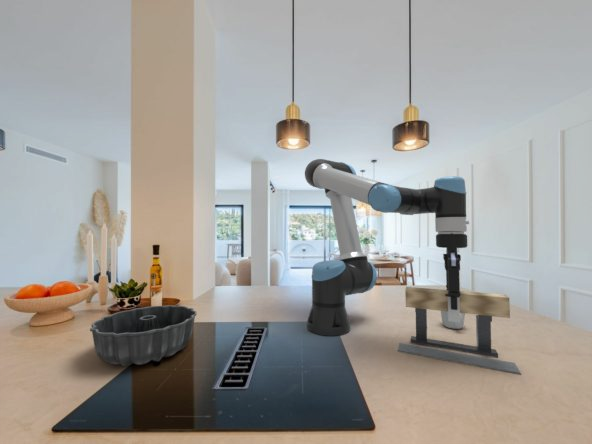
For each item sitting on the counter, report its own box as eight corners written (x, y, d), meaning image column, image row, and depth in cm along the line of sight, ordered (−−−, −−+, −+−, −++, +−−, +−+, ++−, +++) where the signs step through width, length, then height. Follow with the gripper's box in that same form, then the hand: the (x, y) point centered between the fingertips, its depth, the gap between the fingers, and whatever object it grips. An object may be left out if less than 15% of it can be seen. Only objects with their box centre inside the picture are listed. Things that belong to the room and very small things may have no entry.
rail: (405, 306, 78) (405, 289, 78) (406, 303, 81) (406, 286, 82) (510, 318, 67) (509, 297, 67) (506, 313, 71) (505, 294, 71)
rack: (410, 345, 82) (409, 301, 82) (411, 336, 88) (411, 296, 89) (499, 360, 72) (498, 311, 73) (494, 350, 79) (493, 305, 79)
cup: (473, 334, 90) (472, 310, 91) (447, 333, 92) (446, 309, 92) (460, 323, 101) (460, 302, 101) (437, 322, 102) (437, 301, 103)
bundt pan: (106, 340, 85) (107, 308, 85) (195, 330, 94) (196, 301, 95) (70, 386, 60) (72, 340, 61) (196, 365, 70) (197, 326, 70)
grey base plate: (397, 351, 78) (397, 349, 78) (399, 344, 83) (399, 342, 83) (521, 374, 65) (520, 372, 65) (514, 364, 70) (514, 362, 70)
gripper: (471, 233, 66) (474, 331, 65) (463, 233, 81) (466, 312, 80) (436, 233, 69) (438, 326, 68) (435, 233, 84) (437, 309, 83)
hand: (453, 318), depth 74 cm, fingers closed on rail, 4 cm apart
